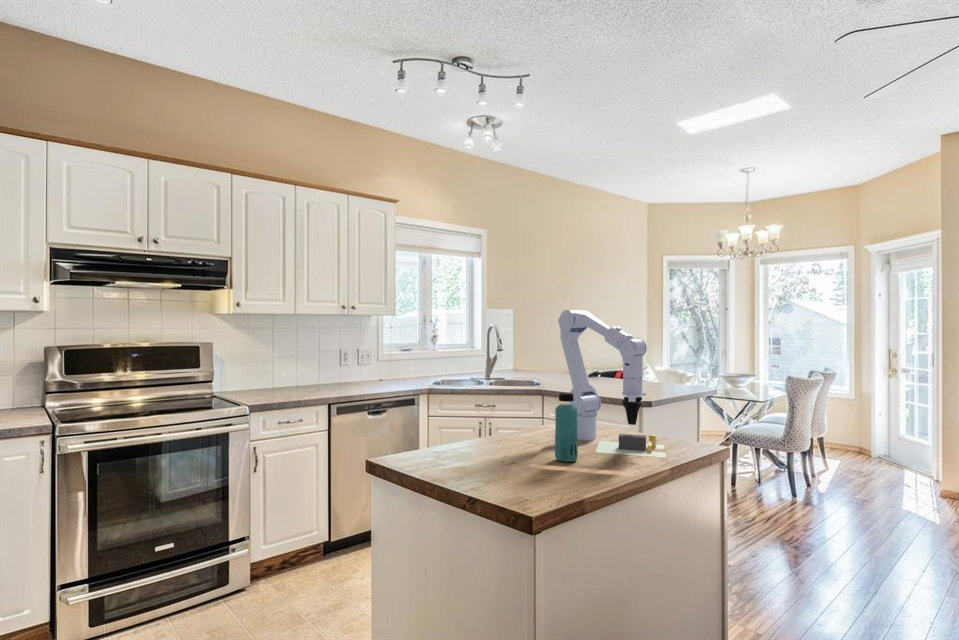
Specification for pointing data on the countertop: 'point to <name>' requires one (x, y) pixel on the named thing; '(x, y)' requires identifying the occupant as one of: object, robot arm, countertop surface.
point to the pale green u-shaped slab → (614, 449)
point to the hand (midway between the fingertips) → (632, 422)
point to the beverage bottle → (566, 429)
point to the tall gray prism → (632, 442)
